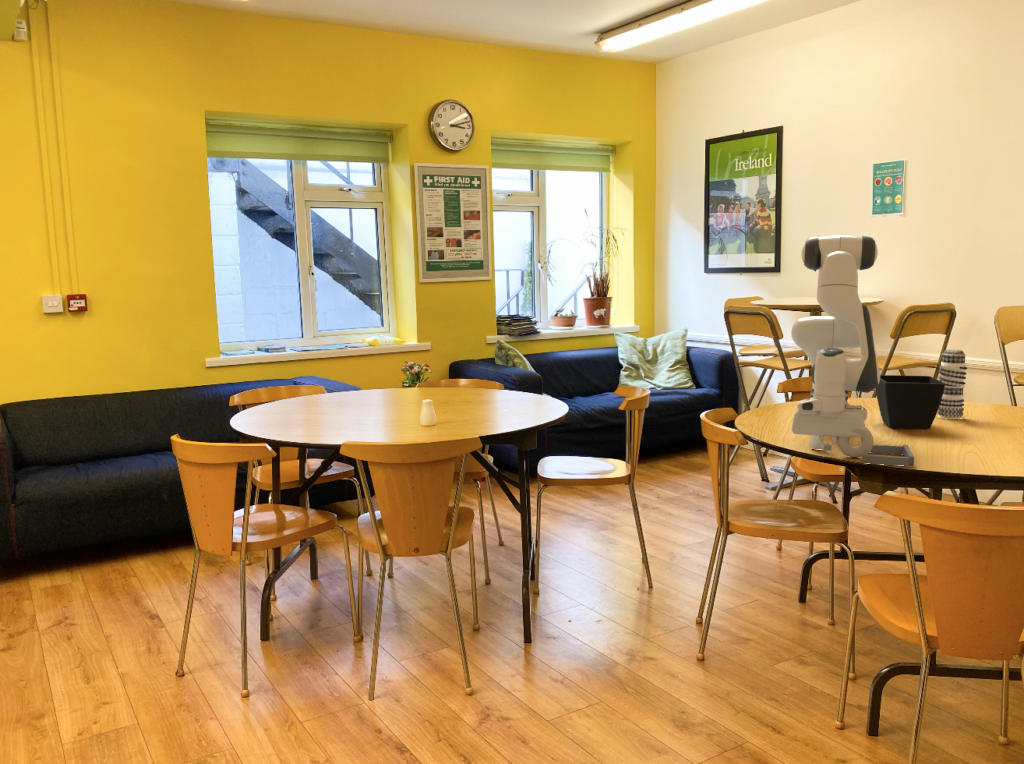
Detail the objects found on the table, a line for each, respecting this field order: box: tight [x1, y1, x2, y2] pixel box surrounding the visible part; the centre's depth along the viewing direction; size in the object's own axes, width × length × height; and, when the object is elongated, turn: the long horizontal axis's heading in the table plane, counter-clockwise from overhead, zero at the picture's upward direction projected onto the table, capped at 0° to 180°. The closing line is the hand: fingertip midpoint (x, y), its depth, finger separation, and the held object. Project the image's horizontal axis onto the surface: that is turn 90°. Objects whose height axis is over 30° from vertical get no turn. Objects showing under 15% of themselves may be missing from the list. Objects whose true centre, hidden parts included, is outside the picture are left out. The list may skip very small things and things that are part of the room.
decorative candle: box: [937, 349, 968, 420], centre depth 306 cm, size 9×9×25 cm
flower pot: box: [875, 374, 945, 430], centre depth 291 cm, size 19×19×17 cm
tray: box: [858, 443, 915, 466], centre depth 240 cm, size 17×13×3 cm
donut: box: [836, 426, 875, 458], centre depth 242 cm, size 10×3×10 cm, turn 65°
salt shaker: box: [809, 435, 823, 449], centre depth 255 cm, size 4×4×9 cm
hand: (827, 450), depth 246 cm, fingers closed
